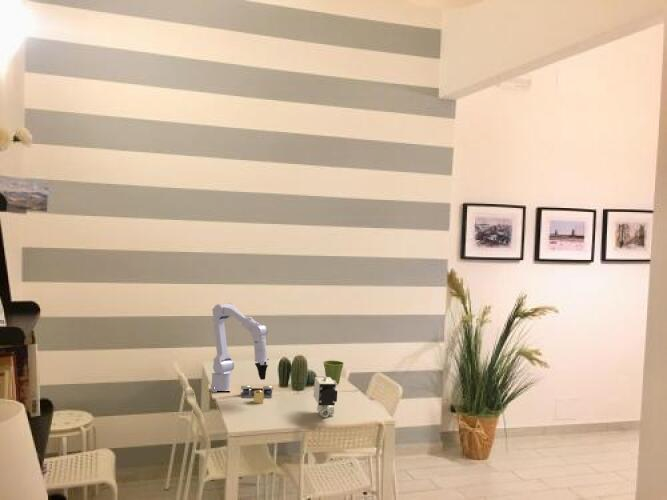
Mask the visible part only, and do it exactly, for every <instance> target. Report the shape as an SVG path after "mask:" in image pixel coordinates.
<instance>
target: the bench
mask: <svg viewBox="0 0 667 500" xmlns="http://www.w3.org/2000/svg"><path fill="white" fill-rule="evenodd" d="M240 390H241V391H242V398H243V399H254V391H256V390H262V391H263V392H264V397H263V399H273V396H272V395H273V391H274V385H263V386H262V388H261V387H255V388H254V387H252V385H240Z"/></svg>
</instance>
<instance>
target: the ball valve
mask: <svg viewBox="0 0 667 500" xmlns="http://www.w3.org/2000/svg"><path fill="white" fill-rule="evenodd" d="M336 385H337V384H336V381H335V380H332V379H331V378H330V377H326V375H324V376H314V384H313V398H314V400H315V402H316V403H317V407H316V408H317V409H316V410H317V411H318V415H320V417H322V418H327V417H329V416H331V415H334V413H335V408H334V406H335V403H337V402H338V390H337V387H336Z"/></svg>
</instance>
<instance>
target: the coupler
mask: <svg viewBox="0 0 667 500" xmlns="http://www.w3.org/2000/svg"><path fill="white" fill-rule="evenodd" d="M263 397H264V392H263V391H262V390H256V391H254V398H253V404H264V398H263Z"/></svg>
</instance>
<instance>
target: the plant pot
mask: <svg viewBox="0 0 667 500" xmlns="http://www.w3.org/2000/svg"><path fill="white" fill-rule="evenodd" d="M322 363H323V367H324V374H325V375H324V376H326V377H330V378H331V379H332V380H335V381H336V383H338V384H339V383H340V380H341V375H342V371H343V367H344V364H345V362H343V361H339V360H323V362H322Z"/></svg>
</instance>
